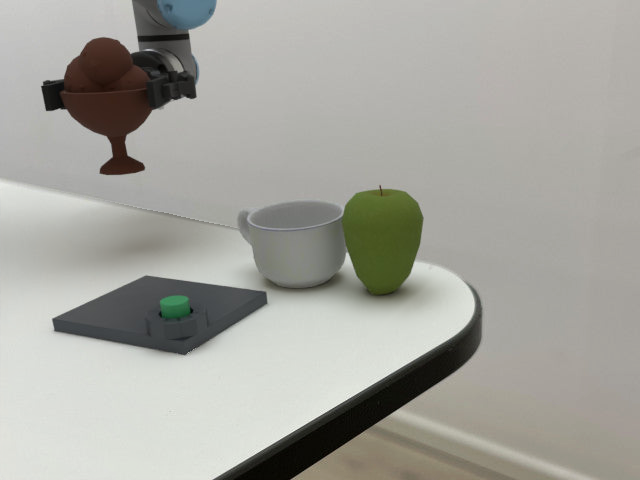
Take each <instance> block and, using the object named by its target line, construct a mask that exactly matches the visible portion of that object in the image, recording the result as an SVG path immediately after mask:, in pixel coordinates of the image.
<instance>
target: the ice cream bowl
mask: <svg viewBox="0 0 640 480" xmlns="http://www.w3.org/2000/svg"><path fill="white" fill-rule="evenodd" d="M63 79H64V88H65V90H63V91H62V92H60V96H61V99H62V101H63V104H64V106H65V108H66V111H67V113H68V114H69V115H70V117H71V118H72V119H74V120H75V121H76V122H77V123H79V125H81V126H82V127H84V128H86V129H87V130H89V131H91V132H93V133H95V134H98V135H101V136H104V137H106V138H107V140H108V142H109V143H110V148H111V155H112V157H111V158H110V159H108V160H106V162H104V164H102V165H101V166H100V168H99V175H103V176H123V175H132V174H136V173H141V172H144V171H146V166H145V164H144V162H141V161H139V160H138V159H136V158H134V157H132V156H130V155H128V149H127V144H126V140H127V136H128V135H130V134H132V133H133V132H135V131H137V130H138V129H139V128H140V127H141V126H142V125H143V124H144V123H145V122H146V121H147V120H148V118H149V117H150V115H151V113H152V112H153V110H152V109H153V107H149V101H148V94H147V87H146V82H147V81H150V78H149V77H148V74H147V73H146V72H144V71H143V70H142V69H141V68H140V67H138V66H135V65H133V59H132V57H131V52H130V51H129V50H128V49H127V47H126V46H125V45H124V44H122V43H121V41H120V40H118V39H115V38H112V37H107V36H101V37H96V38H93V39H91V40H90V41H88V42H86V44H85V45H84V47H83V48H82V50H81V51H80V53H79V54H78V55H77V56H76V57H74V58H72V60H71V61H70V62H69V63H68V65H67V66H66V69H65V72H64V75H63Z"/></svg>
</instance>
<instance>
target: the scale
mask: <svg viewBox="0 0 640 480" xmlns="http://www.w3.org/2000/svg"><path fill="white" fill-rule="evenodd" d="M170 296H186V297H187V298H188V299H189V305H190V313H191V314H190V315H188V316H185V317H181V318H172V319H167V318H162V313H161V307H160V301H161V300H162V299H164V298H166V297H170ZM267 304H268V293H267V291H265V290H256V289H251V288H243V287H234V286H228V285H221V284H213V283H205V282H197V281H191V280H183V279H177V278H168V277H162V276H154V275H143V276H141V277H139V278H137V279H135V280H132V281H131V282H129V283H126V284H124V285H122V286H119V287H118V288H116V289H113V290H111V291H109V292H107V293H105V294H102V295H100V296H98V297H96V298H94V299H91V300H90V301H88V302H85V303H83V304H81V305H79V306H76V307H75V308H71V309H70V310H68V311H66V312H63V313H61V314H59V315H57V316H55V317H52V318H51V322H52V326H53V331H54V332H58V333H62V334H68V335H74V336H79V337H84V338H90V339H95V340H102V341H106V342H111V343H118V344H122V345H123V344H124V345H128V346H133V347H137V348H138V347H139V348H144V349H150V350H155V351H160V352H165V353H171V354H176V355H182V356H187V355H188V354H189V353H188V352H190V351H191V352H193V351H194V350H196V349H197V348H199V347H200V345H201V346H202V345H204V344H205V343H207V342H208V341H210V340H212V339H213V338H216V336H219V334H221V333H223V332H224V331H226V330H228V329H230V328H231V327H233V326H234V325H236V324H237V323H239V322H240V321H242V320H244V319H246V318H247V317H248V316H250V315H252V314H253V313H255V312H256V311H258V310H259V309H261V308H262V307H264V306H266V305H267ZM195 348H196V349H195ZM193 349H194V350H193ZM192 350H193V351H192ZM191 352H190V353H191ZM177 353H178V354H177ZM187 353H188V354H187Z"/></svg>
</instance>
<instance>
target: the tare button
mask: <svg viewBox="0 0 640 480" xmlns="http://www.w3.org/2000/svg"><path fill="white" fill-rule="evenodd" d="M160 307H161V313H162V318H167V319H172V318H181V317H185V316H188V315H190V314H191V313H190V305H189V299H188V298H187V297H186V296H170V297H166V298H164V299H162V300H161V301H160Z"/></svg>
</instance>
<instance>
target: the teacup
mask: <svg viewBox="0 0 640 480" xmlns="http://www.w3.org/2000/svg"><path fill="white" fill-rule="evenodd" d="M344 208H345V206H343V205H342V204H339V203H337V202H335V201H331V200H327V199H326V200H324V199H314V198H313V199H309V198H308V199H307V198H305V199H303V198H301V199H291V200H283V201H278V202H274V203H270V204H266V205H264V206H260V207H257V206H253V205H251V206H245V207H244V208H242V209H241V210H240V211H239V212H238V215H237V218H236V219H237V227H238V230H239V233H240V234H241V236H242V238H243V239H244V240H245V242H247V243H248V244H249V245H250V246H251V250H252V255H253V260H254V264H255V266H256V269H257V270H258V272H259V274H261V275H262V276H263V277H265V279H268V280H269V281H271V282H272V283H273V284H275V285H277V286H279V287H282V288H287V289H307V288H312V287H317V286H321V285H323V284H324V283H326V282H328V281H330V280H331V279H332V278H333V276H334V275H335V274H336V273H338V272H339V271H340V270H341V269H342V267H343V266H344V263H345V260H346V256H347V247H346V243H345V238H344V233H343V227H342V222H341V221H342V217H343V213H344Z"/></svg>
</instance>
